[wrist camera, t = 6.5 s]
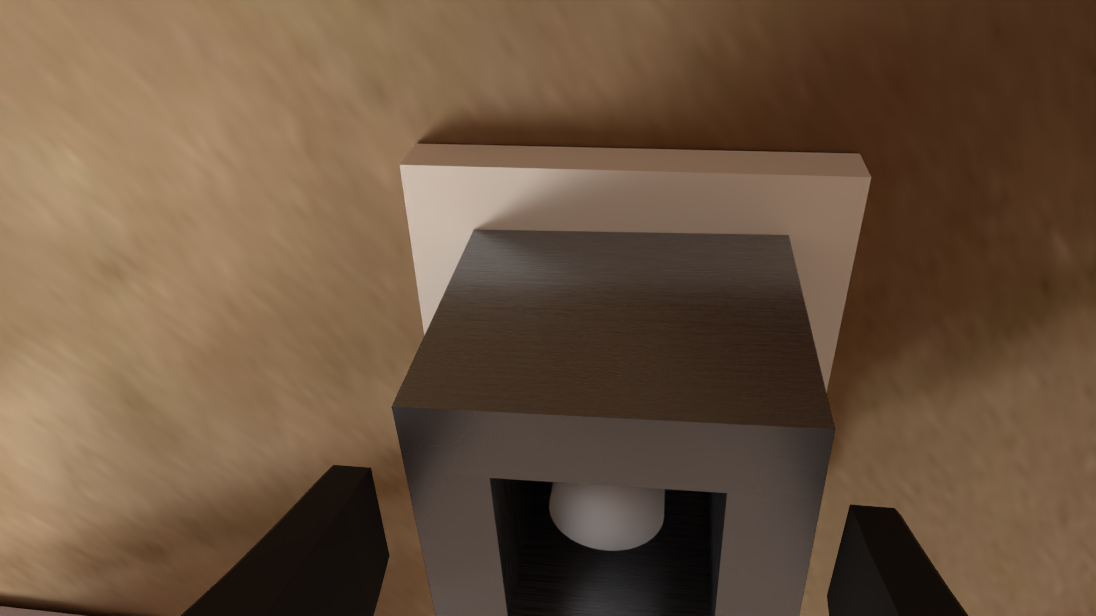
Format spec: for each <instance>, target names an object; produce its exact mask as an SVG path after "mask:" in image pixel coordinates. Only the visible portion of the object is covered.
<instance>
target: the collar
mask: <svg viewBox="0 0 1096 616" xmlns="http://www.w3.org/2000/svg"><path fill="white" fill-rule="evenodd" d="M392 410H393V415H394V420H395V425H396V429H397V434H398V439H399V444H400V448H401V453H402V458H403V463H404V467H405V472H406V477H407V482H408V486H409V491H410V496H411V501H412V505H413V510H414V515H415V520H416V525H417V529H418V534H419V539H420V544H421V548H422V553H423V558H424V563H425V567H426V572H427V577H428V582H429V586H430V591H431V596H432V601H433V605H434V610H435V615H436V616H799V615H800V610H801V604H802V599H803V594H804V589H805V584H806V578H807V573H808V568H809V563H810V558H811V552H812V547H813V542H814V537H815V532H816V526H817V521H818V516H819V511H820V506H821V500H822V495H823V490H824V485H825V480H826V474H827V469H828V464H829V459H830V454H831V448H832V443H833V438H834V433H835V427H834V423H833V418H832V414H831V410H830V406H829V402H828V397H827V393H826V389H825V385H824V381H823V376H822V372H821V368H820V364H819V360H818V356H817V351H816V347H815V343H814V339H813V335H812V330H811V326H810V322H809V318H808V314H807V310H806V305H805V301H804V297H803V293H802V289H801V284H800V280H799V276H798V272H797V268H796V264H795V259H794V255H793V251H792V247H791V243H790V238H789V235H764V234H706V233H649V232H591V231H534V230H476V229H474V230H473V232H472V234H471V236H470V238H469V241H468V243H467V245H466V247H465V249H464V251H463V254H462V256H461V258H460V260H459V262H458V264H457V267H456V269H455V271H454V273H453V275H452V277H451V280H450V282H449V284H448V286H447V288H446V290H445V293H444V295H443V297H442V299H441V301H440V303H439V306H438V308H437V310H436V312H435V314H434V316H433V318H432V321H431V323H430V325H429V327H428V329H427V331H426V334H425V336H424V338H423V340H422V342H421V344H420V347H419V349H418V351H417V353H416V355H415V357H414V360H413V362H412V364H411V366H410V368H409V370H408V373H407V375H406V377H405V379H404V381H403V383H402V386H401V388H400V390H399V392H398V394H397V396H396V398H395V401H394V403H393V405H392ZM553 482H562V483H578V484H593V485H609V486H625V487H640V488H656V489H665V499H664V521H663V524H662V527H661V529H660V530H659V532H658V533H657V534H656V535H655V536H654V537H653V538H652V539H651V540H649V541H648V542H646V543H645V544H642V545H640V546H638V547H635V548H631V549H627V550H619V551H607V550H599V549H594V548H590V547H587V546H584V545H582V544H579V543H577V542H575V541H573V540H572V539H570V538H569V537H567V536H566V535H565V534H563V533H562V532H561V531H560V530H559V529H558V528H557V526H556V525H555V523H554V522H553V520H552V518H551V515H550V510H549V501H550V496H551V490H552V485H553Z"/></svg>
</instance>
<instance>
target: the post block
mask: <svg viewBox="0 0 1096 616" xmlns="http://www.w3.org/2000/svg"><path fill="white" fill-rule="evenodd" d="M400 170H401V177H402V184H403V191H404V198H405V205H406V212H407V219H408V226H409V233H410V240H411V246H412V253H413V260H414V267H415V274H416V281H417V288H418V295H419V302H420V309H421V316H422V323H423V330H424V336H425V334H426V331H427V329H428V327H429V325H430V323H431V321H432V318H433V316H434V314H435V312H436V310H437V308H438V306H439V303H440V301H441V299H442V297H443V295H444V293H445V290H446V288H447V286H448V284H449V282H450V280H451V277H452V275H453V273H454V271H455V269H456V267H457V264H458V262H459V260H460V258H461V256H462V254H463V251H464V249H465V247H466V245H467V243H468V241H469V238H470V236H471V234H472V232H473V230H474V229H476V230H534V231H591V232H649V233H706V234H764V235H789V238H790V243H791V247H792V251H793V255H794V259H795V264H796V268H797V272H798V276H799V280H800V284H801V289H802V293H803V297H804V301H805V305H806V310H807V314H808V318H809V322H810V326H811V330H812V335H813V339H814V343H815V347H816V351H817V356H818V360H819V364H820V368H821V372H822V376H823V381H824V385H825V389H826V393H827V388H828V383H829V378H830V374H831V369H832V364H833V359H834V354H835V350H836V345H837V340H838V335H839V330H840V325H841V321H842V316H843V311H844V306H845V301H846V297H847V292H848V287H849V282H850V277H851V273H852V268H853V263H854V258H855V253H856V248H857V244H858V239H859V234H860V229H861V224H862V220H863V215H864V210H865V205H866V200H867V196H868V191H869V186H870V181H871V176H870V174H869V171H868V169H867V167H866V165H865V163H864V161H863V159H862V157H861V155H860V154H855V153H811V152H767V151H723V150H679V149H635V148H591V147H547V146H503V145H459V144H415V145H414V146H413V147H412V149H411V150H410V151H409V153H408V154H407V156H406V157H405V158H404V160H403V161H402V162H401V164H400ZM664 499H665V489H656V488H640V487H625V486H609V485H593V484H578V483H562V482H553V485H552V490H551V496H550V501H549V510H550V515H551V518H552V520H553V522H554V523H555V525H556V526H557V528H558V529H559V530H560V531H561V532H562V533H563V534H565V535H566V536H567V537H569V538H570V539H572V540H573V541H575V542H577V543H579V544H582V545H584V546H587V547H590V548H594V549H599V550H607V551H619V550H627V549H631V548H635V547H638V546H640V545H642V544H645V543H646V542H648V541H649V540H651V539H652V538H653V537H654V536H655V535H656V534H657V533H658V532H659V530H660V529H661V527H662V524H663V521H664Z"/></svg>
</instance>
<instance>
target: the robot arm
mask: <svg viewBox="0 0 1096 616" xmlns="http://www.w3.org/2000/svg"><path fill="white" fill-rule="evenodd" d="M388 559H389V552H388V547H387V542H386V538H385V533H384V528H383V523H382V519H381V514H380V509H379V504H378V500H377V495H376V490H375V486H374V481H373V476H372V471H371V468H365V467H352V466H339V465H333V466H332V467H331V468H330V469H329V470H328V471H327V472H326V473H325V474H324V475H323V476H322V477H321V478H320V479H319V480H318V481H317V482H316V483H315V484H314V485H313V486H312V487H311V488H310V489H309V490H308V491H307V492H306V494H305V495H304V496H303V497H302V498H301V499H300V500H299V501H298V502H297V503H296V504H295V505H294V506H293V507H292V508H291V509H290V510H289V511H288V512H287V513H286V514H285V515H284V517H283V518H282V519H281V520H280V521H279V522H278V523H277V524H276V525H275V526H274V527H273V528H272V529H271V530H270V531H269V532H268V533H267V534H266V535H265V536H264V537H263V538H262V539H261V540H260V541H259V542H258V543H257V544H256V545H255V546H254V547H253V548H252V549H251V550H250V551H249V552H248V553H247V554H246V555H245V556H244V557H243V558H242V559H241V560H240V561H239V562H238V563H237V564H236V565H235V566H234V567H233V568H232V569H231V570H230V571H229V572H228V573H227V574H225V575H224V576H223V577H222V578H221V579H220V580H219V581H218V582H217V583H216V584H215V585H214V586H213V587H211V588H210V589H209V590H208V591H207V592H206V593H205V594H204V595H203V596H202V597H200V598H199V599H198V600H197V601H196V602H195V603H194V604H193V605H192V606H191V607H190V608H188V609H187V610H186V611H185V612H184V613H183V614H182V615H181V616H373V615H374V612H375V608H376V605H377V601H378V597H379V594H380V590H381V586H382V582H383V579H384V575H385V571H386V567H387V563H388ZM827 599H828V609H829V616H968V615H967V613H966V612H965V610H964V609H963V608H962V606H961V605H960V603H959V602H958V601H957V599H956V598H955V596H954V595H953V593H952V592H951V590H950V589H949V588H948V586H947V585H946V583H945V582H944V580H943V579H942V577H941V576H940V574H939V573H938V571H937V570H936V569H935V567H934V566H933V564H932V563H931V561H930V560H929V558H928V557H927V555H926V553H925V552H924V550H923V549H922V547H921V546H920V544H919V543H918V541H917V540H916V538H915V537H914V535H913V533H912V532H911V530H910V529H909V527H908V526H907V524H906V522H905V521H904V519H903V518H902V516H901V515H900V514H899V512H898V511H897V510H896V509H895V508H886V507H873V506H860V505H850V507H849V511H848V515H847V519H846V523H845V527H844V531H843V535H842V539H841V543H840V547H839V551H838V555H837V559H836V563H835V567H834V570H833V574H832V578H831V582H830V586H829V590H828V594H827ZM0 616H85V615H76V614H67V613H58V612H49V611H40V610H31V609H22V608H13V607H4V606H0Z"/></svg>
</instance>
